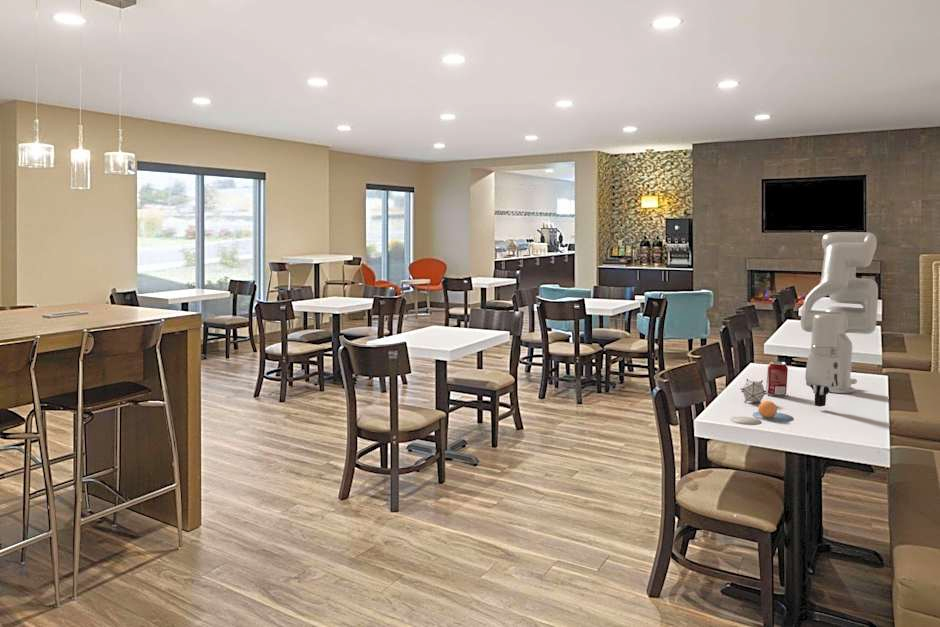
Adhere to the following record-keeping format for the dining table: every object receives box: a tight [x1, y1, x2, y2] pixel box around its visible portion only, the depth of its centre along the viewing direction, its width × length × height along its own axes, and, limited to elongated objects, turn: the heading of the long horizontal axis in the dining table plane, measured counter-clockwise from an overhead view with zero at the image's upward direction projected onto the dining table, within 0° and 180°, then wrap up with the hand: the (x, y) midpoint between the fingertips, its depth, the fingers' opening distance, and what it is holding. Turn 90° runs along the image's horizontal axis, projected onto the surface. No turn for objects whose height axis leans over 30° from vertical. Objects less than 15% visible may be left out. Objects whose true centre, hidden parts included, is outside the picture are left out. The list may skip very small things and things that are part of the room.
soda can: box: [765, 360, 789, 397], centre depth 261 cm, size 7×7×12 cm
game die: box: [740, 378, 768, 405], centre depth 249 cm, size 9×8×10 cm
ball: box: [757, 400, 778, 418], centre depth 228 cm, size 6×6×6 cm
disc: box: [752, 411, 794, 423], centre depth 230 cm, size 12×12×1 cm
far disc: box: [730, 416, 762, 426], centre depth 225 cm, size 9×9×1 cm
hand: (819, 405), depth 240 cm, fingers closed
